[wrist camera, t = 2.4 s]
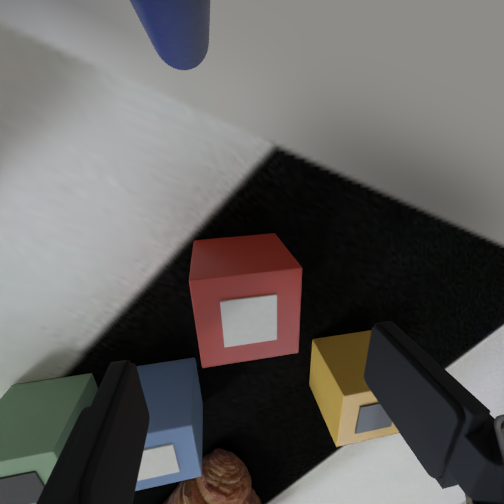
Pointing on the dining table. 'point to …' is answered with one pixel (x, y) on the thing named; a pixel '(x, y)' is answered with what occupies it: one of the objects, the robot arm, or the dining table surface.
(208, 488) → the pastry
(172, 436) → the blue block
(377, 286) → the dining table surface
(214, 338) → the red block
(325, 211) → the dining table surface
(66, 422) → the sage block
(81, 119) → the dining table surface
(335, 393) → the mustard block
